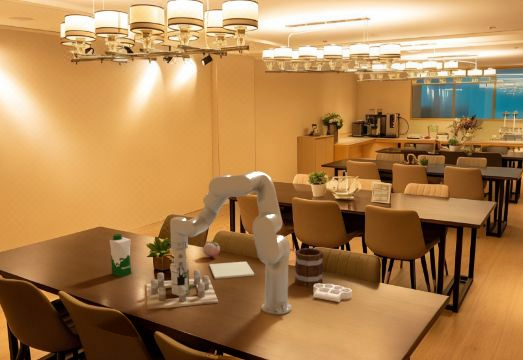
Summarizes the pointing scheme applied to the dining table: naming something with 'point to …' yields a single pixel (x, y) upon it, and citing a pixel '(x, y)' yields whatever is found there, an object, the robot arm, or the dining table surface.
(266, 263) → the robot arm
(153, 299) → the post board
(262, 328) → the dining table surface
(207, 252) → the decorative fruit
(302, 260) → the mug
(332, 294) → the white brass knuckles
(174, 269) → the syrup box
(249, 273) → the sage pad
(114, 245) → the milk carton
